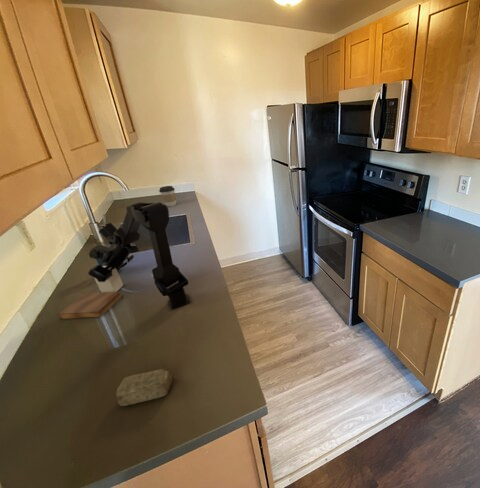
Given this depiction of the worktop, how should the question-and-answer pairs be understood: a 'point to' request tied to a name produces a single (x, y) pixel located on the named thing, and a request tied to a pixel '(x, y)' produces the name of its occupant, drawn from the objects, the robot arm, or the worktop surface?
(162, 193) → the coffee cup
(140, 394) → the stone block
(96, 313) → the wooden base plate
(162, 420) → the worktop surface
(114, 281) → the cream box
